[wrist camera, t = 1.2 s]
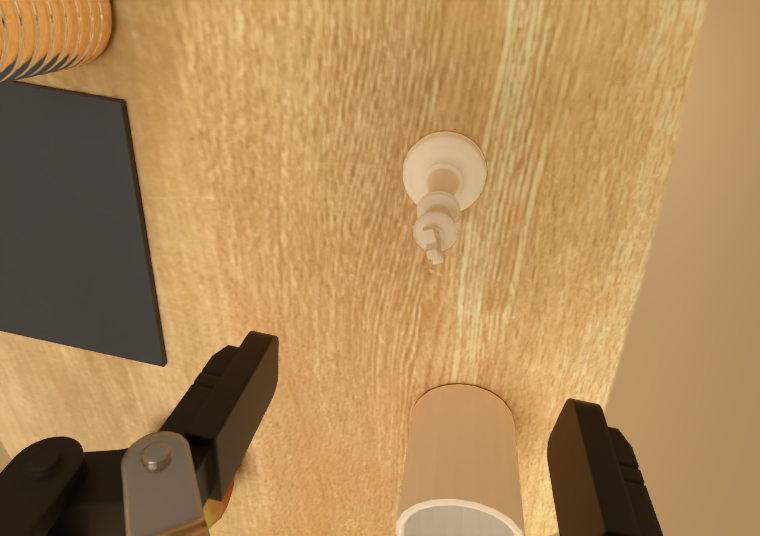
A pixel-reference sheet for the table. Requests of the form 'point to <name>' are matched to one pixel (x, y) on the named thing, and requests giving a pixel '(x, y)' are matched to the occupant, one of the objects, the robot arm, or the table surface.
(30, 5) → the water bottle
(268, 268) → the table surface
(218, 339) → the table surface
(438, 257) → the chess piece
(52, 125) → the mat
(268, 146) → the table surface
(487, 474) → the mug
